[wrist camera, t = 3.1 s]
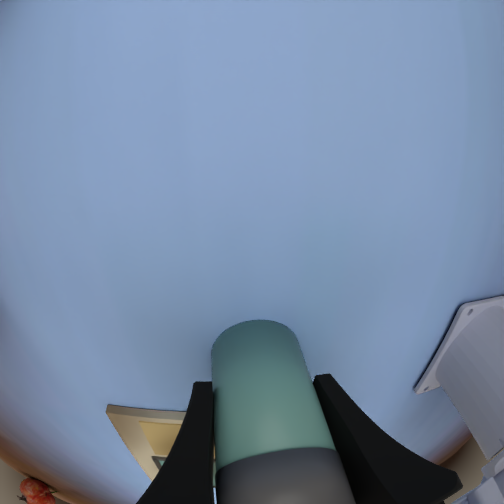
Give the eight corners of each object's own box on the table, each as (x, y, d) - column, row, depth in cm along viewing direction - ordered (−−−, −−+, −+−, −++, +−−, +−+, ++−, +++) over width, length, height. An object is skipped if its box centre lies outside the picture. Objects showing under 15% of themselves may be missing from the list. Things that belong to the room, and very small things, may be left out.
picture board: (291, 407, 15) (294, 418, 14) (266, 478, 21) (267, 484, 20) (107, 404, 13) (105, 414, 13) (153, 477, 19) (153, 484, 18)
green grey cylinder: (306, 316, 12) (377, 490, 5) (291, 378, 14) (332, 519, 6) (209, 319, 11) (216, 520, 4) (211, 381, 13) (220, 534, 6)
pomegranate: (65, 481, 28) (27, 489, 19) (73, 512, 24) (39, 523, 16) (41, 471, 28) (5, 475, 19) (49, 500, 25) (15, 508, 16)
